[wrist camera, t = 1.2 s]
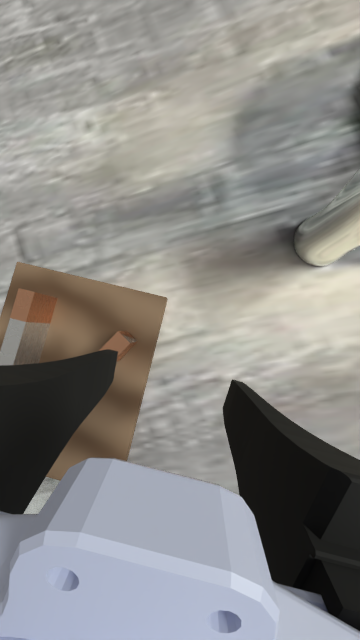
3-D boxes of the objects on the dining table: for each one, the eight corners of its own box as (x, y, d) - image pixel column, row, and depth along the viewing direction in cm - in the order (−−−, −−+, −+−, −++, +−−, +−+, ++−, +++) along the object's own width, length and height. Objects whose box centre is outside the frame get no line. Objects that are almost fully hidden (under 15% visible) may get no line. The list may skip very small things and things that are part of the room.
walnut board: (120, 488, 20) (116, 496, 19) (-31, 446, 21) (-41, 452, 20) (167, 299, 22) (166, 297, 21) (24, 264, 22) (17, 261, 21)
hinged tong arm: (28, 459, 20) (0, 483, 16) (14, 443, 20) (-17, 463, 17) (140, 343, 20) (132, 345, 17) (125, 328, 20) (115, 328, 17)
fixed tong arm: (33, 466, 20) (4, 493, 16) (-4, 456, 20) (-40, 481, 17) (79, 303, 21) (59, 298, 18) (44, 294, 21) (18, 288, 18)
